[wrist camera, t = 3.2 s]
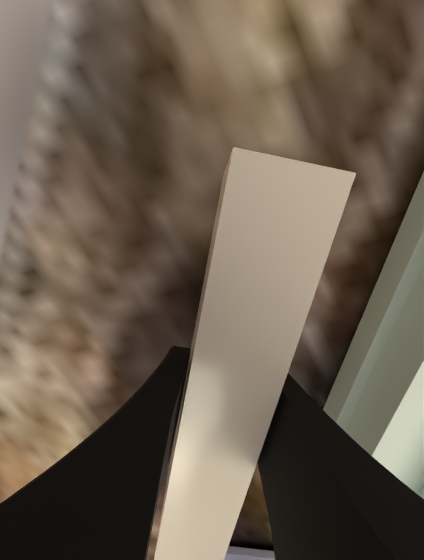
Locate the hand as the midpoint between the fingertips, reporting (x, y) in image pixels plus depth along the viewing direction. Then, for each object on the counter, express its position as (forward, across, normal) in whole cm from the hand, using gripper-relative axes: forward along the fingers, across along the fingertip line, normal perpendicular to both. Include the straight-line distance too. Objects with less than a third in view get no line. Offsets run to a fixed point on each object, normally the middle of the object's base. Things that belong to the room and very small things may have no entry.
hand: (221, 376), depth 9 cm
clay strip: (+2, 0, 0) cm, 2 cm away
